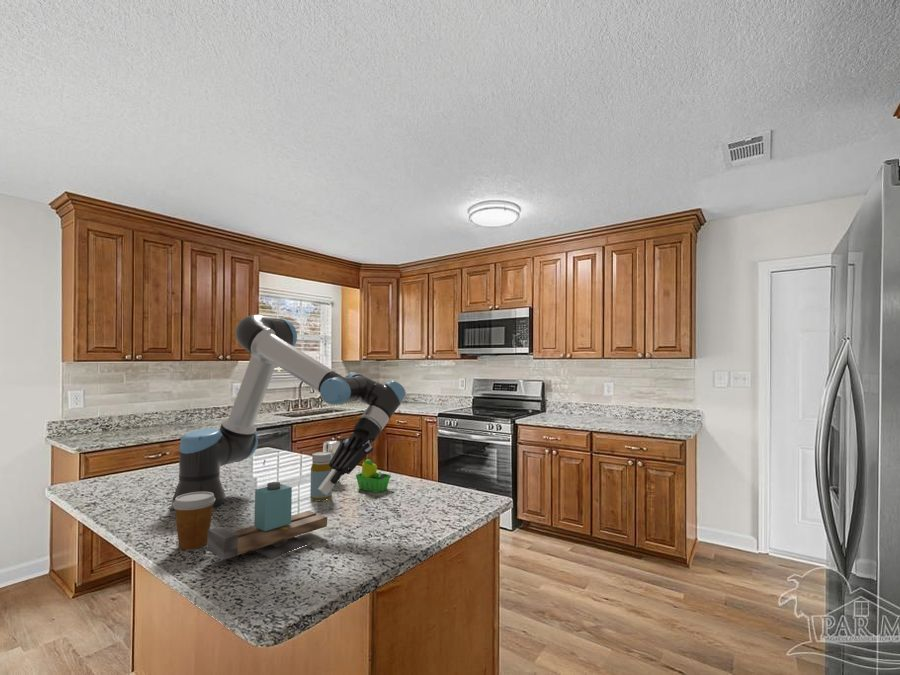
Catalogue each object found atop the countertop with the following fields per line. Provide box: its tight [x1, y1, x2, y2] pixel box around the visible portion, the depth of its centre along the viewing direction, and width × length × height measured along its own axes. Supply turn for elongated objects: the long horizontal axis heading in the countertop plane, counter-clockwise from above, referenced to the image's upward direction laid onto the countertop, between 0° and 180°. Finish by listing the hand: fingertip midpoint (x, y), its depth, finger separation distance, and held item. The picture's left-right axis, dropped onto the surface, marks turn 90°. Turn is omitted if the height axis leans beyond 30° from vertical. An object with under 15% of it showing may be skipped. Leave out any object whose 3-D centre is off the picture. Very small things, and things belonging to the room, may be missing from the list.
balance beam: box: [206, 510, 328, 561], centre depth 116 cm, size 27×12×7 cm, turn 140°
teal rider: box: [253, 481, 293, 531], centre depth 116 cm, size 7×5×12 cm
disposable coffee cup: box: [173, 492, 216, 550], centre depth 118 cm, size 10×10×12 cm
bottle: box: [309, 451, 333, 501], centre depth 158 cm, size 7×7×15 cm
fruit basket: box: [355, 458, 392, 493], centre depth 169 cm, size 11×9×11 cm
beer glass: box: [322, 440, 341, 482], centre depth 180 cm, size 7×7×15 cm
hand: (322, 492), depth 127 cm, fingers closed
